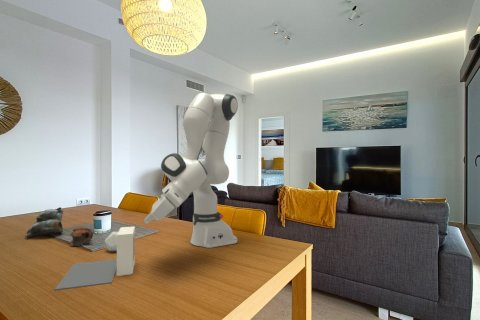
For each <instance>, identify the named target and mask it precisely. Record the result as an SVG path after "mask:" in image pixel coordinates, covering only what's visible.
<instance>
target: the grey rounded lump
mask: <svg viewBox="0 0 480 320" xmlns="http://www.w3.org/2000/svg"><path fill="white" fill-rule="evenodd" d="M63 215H64V209H62V207H58V208H48V209H45V210H44V211H43V212H40V213H39V214H38V215H36V219H35V222H34V223H33V224H32V225H31V226H30V227H29V228H28V229H27V231H26V235H25V236H24V237H25V238H28V239H30V238H32V237H36V236H42V235H45V236H46V235H51V234H54V235H55V234H59V233H61V234H62V233H63V232H64V230H63V224H62V218H63Z"/></svg>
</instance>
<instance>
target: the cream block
mask: <svg viewBox="0 0 480 320" xmlns="http://www.w3.org/2000/svg"><path fill="white" fill-rule="evenodd" d="M117 232H118V234H117V251H116V259H117V269H116V277H120V276H121V277H122V276H127V275H129V276H130V275H133V273H134V269H135V262H136V261H135V259H136V258H135V257H136V226H124V227H122V226H121V227H120V228H119V229H118V231H117Z"/></svg>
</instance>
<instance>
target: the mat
mask: <svg viewBox="0 0 480 320" xmlns="http://www.w3.org/2000/svg"><path fill="white" fill-rule="evenodd" d="M116 273H117V258H115V259H106V260H96V261H95V260H94V261H88V262H87V261H85V262H77V263H76V262H75V263H73V264H72V265H71V267H69V270H68V271H67V273H66V274H64V276H63V277H62V278H61V280H60V282H59V283H58V284H57V285H56V286H55V288H54V291H59V290H60V291H61V290H67V289H74V288H83V287H91V286H99V285H100V286H101V285H106V284H112V283H113V280H114V278H115V275H116Z"/></svg>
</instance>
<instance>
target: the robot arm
mask: <svg viewBox="0 0 480 320" xmlns="http://www.w3.org/2000/svg"><path fill="white" fill-rule="evenodd" d="M238 107H239V104H238V99H237V98H236V96H234V95H232V94H230V93H229V94H228V93H211V94H209V93H208V92H199V93H197V94H196V95H195V97H194V98H193V99H192V100H191V102H190V104H189V106H188V107H187V108H186V111H185V113H184V116H183V121H182V127H183V130H184V133H185V137H186V142H187V143H186V150H185V153H184V156H182V155H181V154H179V153H176V152H174V153H170V154H167V155H166V156H165V157H164V158H163V159H162V160H161V163H160V168H161V171H162V172H163V173H164V175H165V176H166V177H167V179H169V180H170V182H169V183H168V184H166V185H165V187H164V188H162V190H161V191H162V194H161V195H160V198H158V199H157V201H155V202H154V203H153V204H152V207H151V211H150V212H149V213H148V215H147V216H146V217H145V218H144V219H143V223H144V224H145V225H148V224H149V223H150V222H151V221H153V220H156V221H157V222H158V221H161V220H162V219H164V218H165V217H166V216H167V215H169V213H171V212H172V211H173V210H174V209H176V208H179V207H180V206H181V205H182V203H184V202H185V201H186V200H187V199H188V198H189V196H190V195H191V194H193V213H192V225H193V229H192V234H191V238H190V240H189V241H190V244H192V245H193V246H196V247H203V248H206V249H207V248H208V249H211V248H217V247H223V246H228V245H233V244H237V243H238V241H239V240H238V237H237V236H235V235H234V234H233V229H232V227H231V226H230V225H228V223H226V222H225V221H224V220H222V219H224V216H225V215H224V214H223V213H220V212H219V211H218V195H217V194H216V193H215V192H214V190H213V188H212V186H211V185H220V184H224V183H226V182H227V181H228V179H229V177H230V169H229V167H228V165H227V164H226V161H225V156H224V155H225V149H226V145H227V142H228V137H229V132H230V126H231V125H230V124H231V123H230V121H231V120H232V118H233V117H234V116H235V115H236V113H237V111H238ZM202 150H203V152H204V154H205V157H204V160H199V158H200V155H201V151H202Z"/></svg>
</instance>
